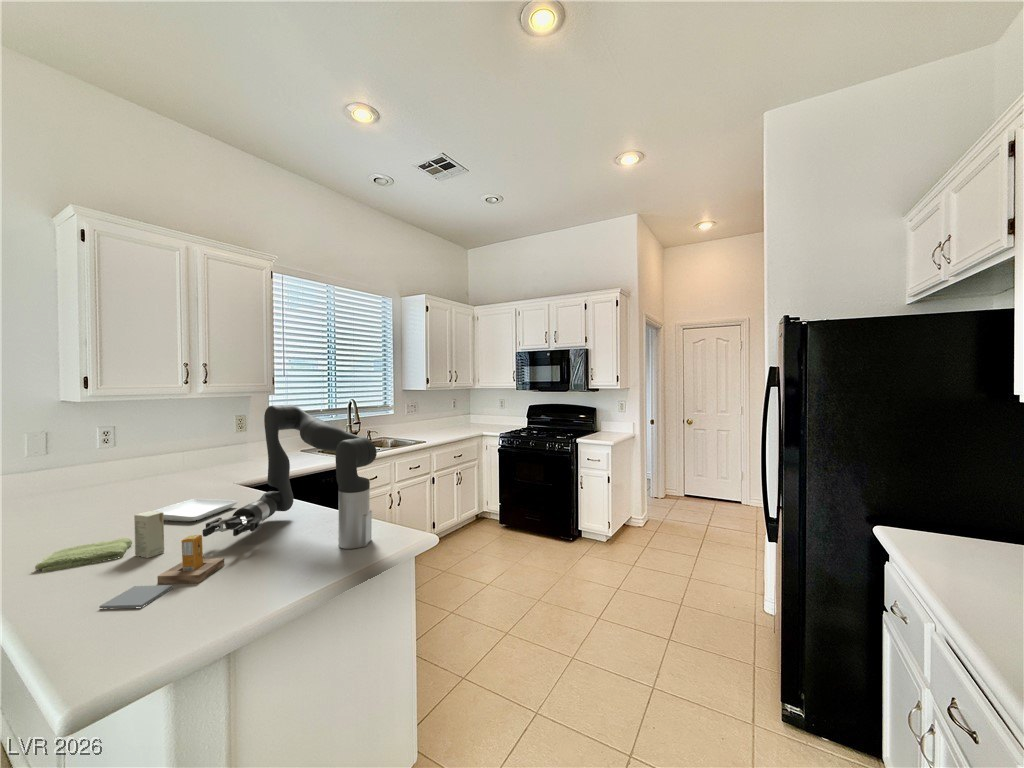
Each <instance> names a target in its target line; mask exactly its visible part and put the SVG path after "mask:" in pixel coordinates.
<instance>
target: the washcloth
mask: <svg viewBox="0 0 1024 768" xmlns="http://www.w3.org/2000/svg"><path fill="white" fill-rule="evenodd" d="M132 544H133V540H132V539H131V538H130V537H121V538H117V539H114V540H106V541H100V542H96V543H95V542H93V543H87V544H83V545H77V546H72V547H67V548H63V549H60V550H57V551H55V552H53V553H51V554H49V556H46V557H45V558H43V560H42V561H41V562H39V563H37V564H35V565H34V566H35V568H34V569H35V570H42V573H45V572H51V571H52V572H53V571H58V570H62V569H68V567H69V568H74V567H78V566H79V565H80V566H84V565H83V564H85V565H89V564H88V563H91V564H93V563H92V562H97V563H100V562H99V561H101V562H104V561H103V560H107V561H109V560H108V559H112V560H114V559H113V558H118V557H120V558H122V557H124V554H125V553H126V551H127V550H128V549H129V548H130V547H131V545H132ZM127 548H128V549H127ZM118 559H119V558H118ZM73 566H74V567H73Z"/></svg>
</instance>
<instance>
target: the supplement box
mask: <svg viewBox="0 0 1024 768" xmlns="http://www.w3.org/2000/svg"><path fill="white" fill-rule="evenodd" d="M203 559H204V552H203V534H192V535H188V536H187V537H185V538H183V539H181V560H182V561H181V562H182V563H183V571H195V570H197V569H199V568H200V567H202V566H203Z"/></svg>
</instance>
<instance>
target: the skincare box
mask: <svg viewBox="0 0 1024 768" xmlns="http://www.w3.org/2000/svg"><path fill="white" fill-rule="evenodd" d="M164 521H165V520H164V519H163V512H156V511H154V510H149V511H144V512H141V513H137V514H134V556H135V555H136V556H135V557H139V556H141V557H140V558H147V559H149V558H151V557H155V556H158V555H161V554H163V553H165V531H164V525H165V523H164Z"/></svg>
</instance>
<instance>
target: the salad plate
mask: <svg viewBox="0 0 1024 768" xmlns="http://www.w3.org/2000/svg"><path fill="white" fill-rule="evenodd" d="M238 502H239V500H233V499H215V498H212V499H211V498H208V499H207V498H192V499H188V500H184V501H181V502H178V503H173V504H170V505H167V506H163V507H160V508H158V509H155V510H153V511H156V512H163V519H164V521H168V520H169V521H170V522H172V521H173V522H197V521H200V520H203V519H205V517H206V518H208V517H211V516H213V514H214V515H216V514H219V513H221V512H223V511H225V510H229V509H230V508H233V507H234V506H236V505H237V504H238ZM196 520H197V521H196Z"/></svg>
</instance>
